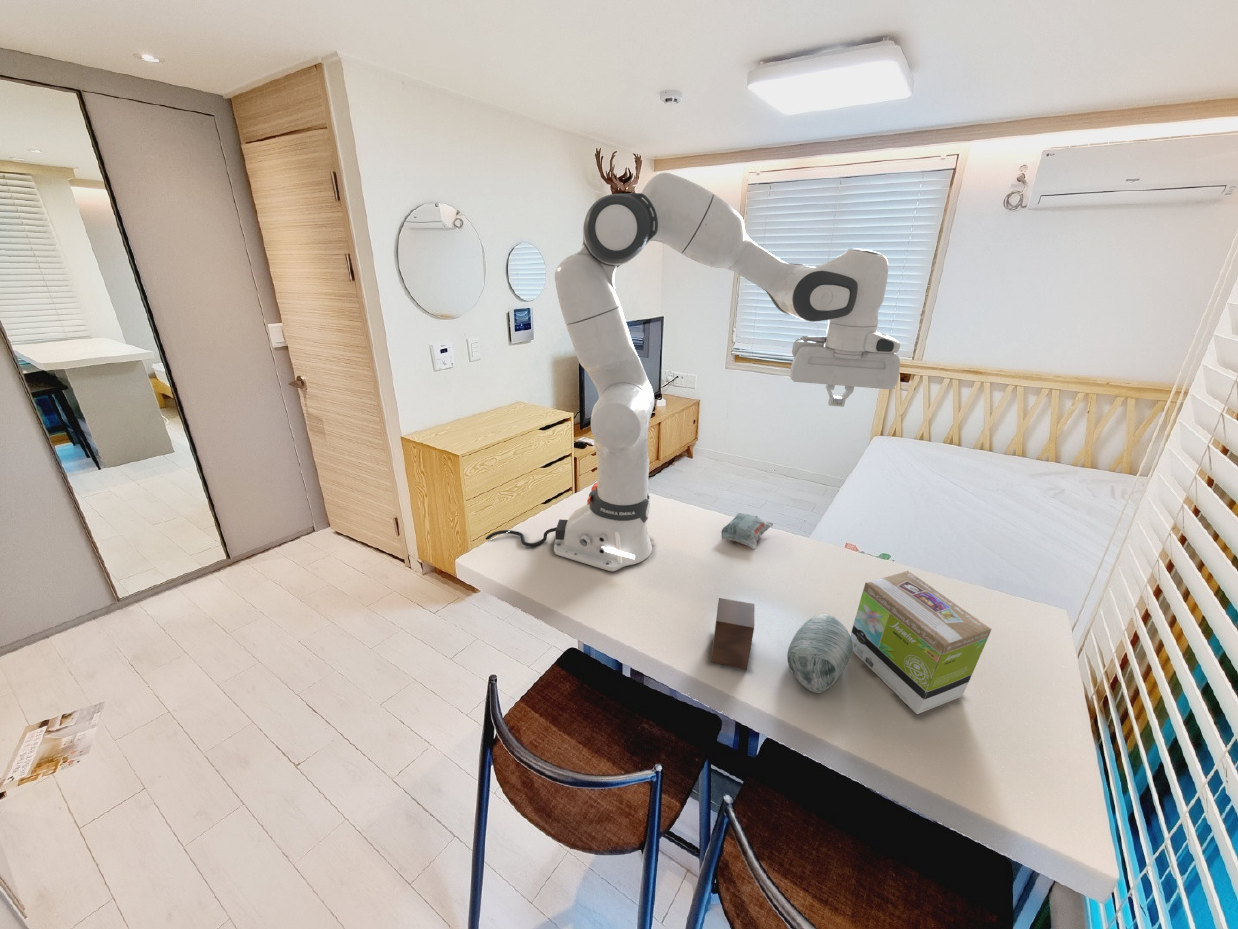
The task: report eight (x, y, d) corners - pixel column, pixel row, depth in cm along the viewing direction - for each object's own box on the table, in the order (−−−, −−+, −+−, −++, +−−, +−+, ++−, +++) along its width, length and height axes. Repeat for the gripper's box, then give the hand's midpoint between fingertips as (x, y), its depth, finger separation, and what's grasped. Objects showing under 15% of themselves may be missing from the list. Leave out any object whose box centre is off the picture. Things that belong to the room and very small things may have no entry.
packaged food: (771, 533, 123) (774, 515, 120) (753, 556, 114) (756, 537, 112) (737, 522, 127) (739, 505, 125) (718, 543, 118) (719, 525, 116)
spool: (841, 703, 74) (828, 635, 75) (781, 694, 81) (769, 632, 81) (869, 670, 84) (857, 610, 85) (813, 664, 91) (803, 609, 91)
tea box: (844, 648, 89) (863, 580, 83) (887, 634, 92) (908, 567, 86) (917, 718, 76) (945, 644, 70) (964, 699, 79) (995, 626, 73)
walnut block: (711, 662, 85) (716, 621, 81) (713, 637, 90) (718, 597, 87) (747, 669, 84) (754, 628, 80) (747, 644, 89) (754, 603, 85)
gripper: (795, 337, 98) (784, 405, 104) (909, 344, 94) (891, 414, 100) (793, 332, 104) (783, 396, 110) (901, 338, 100) (884, 405, 105)
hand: (835, 405), depth 105 cm, fingers closed
